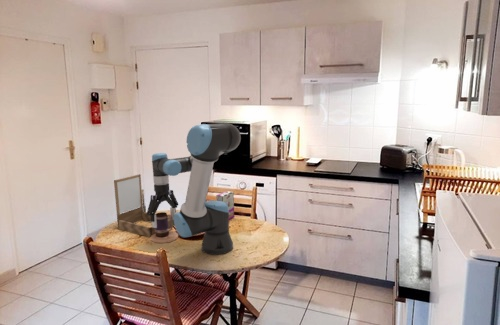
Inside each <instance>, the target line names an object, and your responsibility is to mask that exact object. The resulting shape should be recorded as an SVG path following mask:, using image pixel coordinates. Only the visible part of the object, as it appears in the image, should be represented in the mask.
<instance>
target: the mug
mask: <svg viewBox="0 0 500 325" xmlns="http://www.w3.org/2000/svg"><path fill="white" fill-rule="evenodd" d="M155 215H156V220H157V228H155V232H156V236H157V237H166V236H168V235H169V231H173V228H174V227H173V224H172V215H171V214H168V213H167V212H156V213H155ZM168 217H169V218H170V229H169V227H168Z"/></svg>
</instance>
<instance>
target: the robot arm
mask: <svg viewBox="0 0 500 325" xmlns="http://www.w3.org/2000/svg"><path fill="white" fill-rule="evenodd" d="M241 140H242V137H241V132H240V130H239V129H238V128H237V127H236V125H233V124H231V123H228V122H222V123H221V122H220V123H207V124H206V123H202V124H195V125H194V126H192V127H191V128H190V129H189V131H188V133H187V136H186V147H187V150H188V152H189V156H185V157H177V158H168V155H167V153H165V152H158V153H156V152H155V153H153V154H152V155H151V162H152V163H151V164H152V174H153V175H152V177H153V190H154V192H155V195H154V194H153V195H152V194H151V195H150V199H149V200H150V201H149V204H148V208H147V215H150V218H151V222H150V223H151V227H154V228H157V220H156V215H155V214H157V211H158V209H159V206H160V204H162V203H163V202H167V204H168V205H169V206H170V207H169V209H170V215H172V220H174V226H175V231H177V232H176V233H178V236H180V237H181V238H190V237H193V236H197V235H200V234H203V233H204V235H203V239H202V241H201V250H202V252H203V253H205V254H209V255H222V254H226V253H229V252H231V251H232V250H233V249H234V242H233V239H232V237H231V234H230V220H229V210H228V205H227V204H226V203H224V202H221V201H217V200H207V196H208V192H209V187H210V183H211V176H212V172H213V168H214V163H215V162H217V161H218V160H219V158H220V156H221V155H223V154H224V153H225V154H228V153H230V152H232V151H234V150H236V149H237V148H238V146H239V145H240V144H241ZM187 172H188V173H189V172H190V175H189V180H188V185H187V190H186V195H185V196H186V197H185V202H184V203H182V204H181V205H180V210H179V211H176V210H177V208H178V206H179V202H178V200H177V198H176V196H175V194H174V190H173V189H170V179H169V176H173V177H175V176H177V175H180V174H182V173H187Z"/></svg>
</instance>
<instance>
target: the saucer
mask: <svg viewBox="0 0 500 325" xmlns="http://www.w3.org/2000/svg"><path fill="white" fill-rule="evenodd" d="M178 238H179V234H178V232H176V231H173V230H171V231H169V235H168V236H166V237H157V236H156V233H155V234H153V235H152V236H151V237H150V241H151V242H152V243H155V244H167V243H171V242H174V241H177V240H178Z"/></svg>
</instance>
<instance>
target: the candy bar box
mask: <svg viewBox="0 0 500 325" xmlns="http://www.w3.org/2000/svg"><path fill="white" fill-rule="evenodd" d="M234 195H235V194H234V191H230V190H227V191H223V192H220V193H219V194H216V201H221V202H224V203H226V204H227V205H228V210H229V221H230V220H232V219H234V218H235V200H234Z"/></svg>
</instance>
